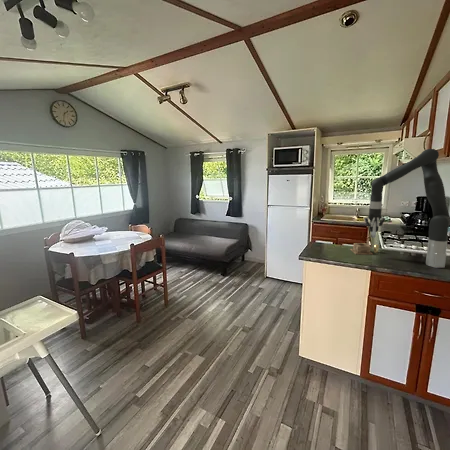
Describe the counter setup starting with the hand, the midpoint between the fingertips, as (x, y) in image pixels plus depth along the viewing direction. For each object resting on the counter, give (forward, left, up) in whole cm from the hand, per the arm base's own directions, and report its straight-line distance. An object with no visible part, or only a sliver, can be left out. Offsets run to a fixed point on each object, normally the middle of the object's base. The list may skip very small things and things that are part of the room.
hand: (373, 231), depth 181 cm
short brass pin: (+11, -7, -19) cm, 23 cm away
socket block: (+11, +3, -19) cm, 22 cm away
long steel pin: (0, 0, -4) cm, 4 cm away
